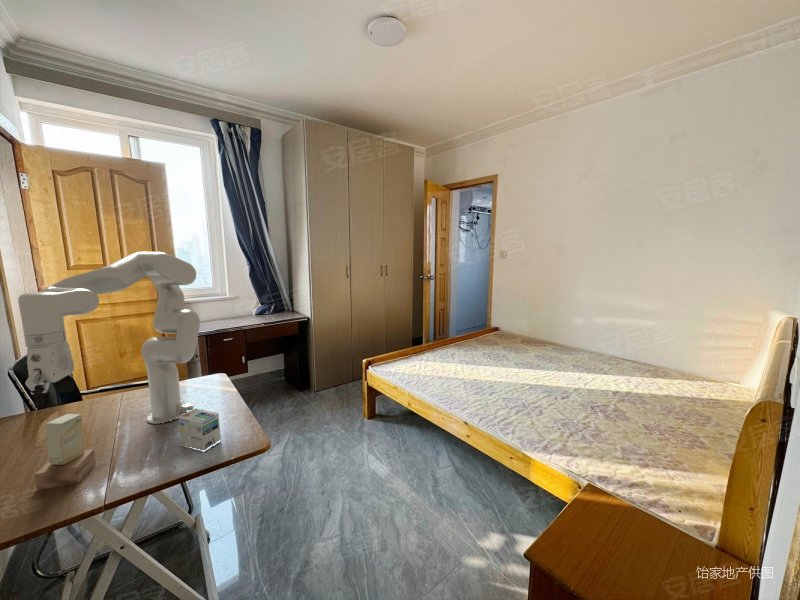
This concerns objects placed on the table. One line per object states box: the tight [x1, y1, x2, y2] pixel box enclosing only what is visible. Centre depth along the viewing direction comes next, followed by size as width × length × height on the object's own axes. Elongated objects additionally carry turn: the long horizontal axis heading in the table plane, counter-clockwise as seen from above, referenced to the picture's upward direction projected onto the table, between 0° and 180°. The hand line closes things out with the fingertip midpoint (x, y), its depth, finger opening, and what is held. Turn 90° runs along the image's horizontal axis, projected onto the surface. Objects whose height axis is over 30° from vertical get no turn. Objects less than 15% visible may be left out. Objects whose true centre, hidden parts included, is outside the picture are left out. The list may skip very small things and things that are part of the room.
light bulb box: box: [177, 408, 222, 450], centre depth 110 cm, size 11×7×11 cm, turn 71°
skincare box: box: [45, 413, 85, 465], centre depth 95 cm, size 6×4×12 cm
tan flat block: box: [34, 448, 96, 490], centre depth 95 cm, size 9×9×5 cm
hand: (55, 399), depth 91 cm, fingers open, 9 cm apart
